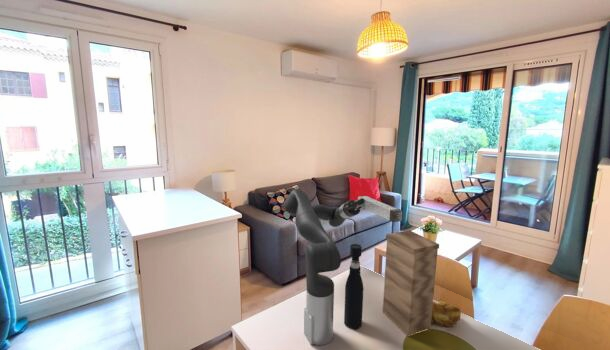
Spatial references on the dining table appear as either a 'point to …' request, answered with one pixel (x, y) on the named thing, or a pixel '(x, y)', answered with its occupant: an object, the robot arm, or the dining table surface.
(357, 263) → the wine bottle
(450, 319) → the bread roll
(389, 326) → the dining table surface
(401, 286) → the walnut stand
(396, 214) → the aluminium bar
